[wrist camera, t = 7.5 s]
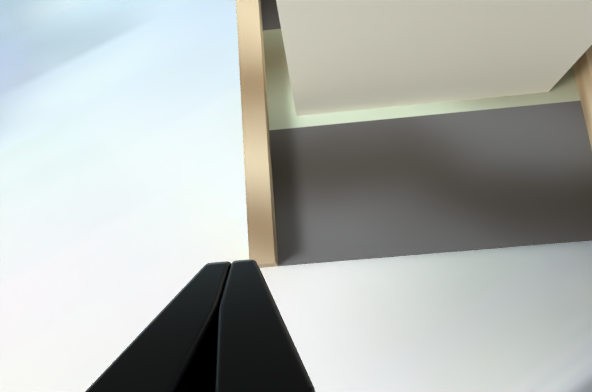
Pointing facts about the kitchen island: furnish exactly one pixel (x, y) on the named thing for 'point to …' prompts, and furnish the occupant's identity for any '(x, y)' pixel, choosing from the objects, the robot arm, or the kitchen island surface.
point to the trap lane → (407, 166)
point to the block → (427, 50)
